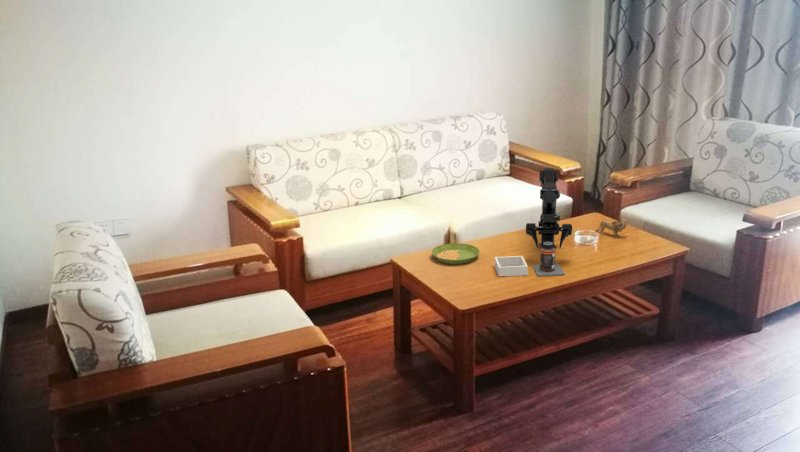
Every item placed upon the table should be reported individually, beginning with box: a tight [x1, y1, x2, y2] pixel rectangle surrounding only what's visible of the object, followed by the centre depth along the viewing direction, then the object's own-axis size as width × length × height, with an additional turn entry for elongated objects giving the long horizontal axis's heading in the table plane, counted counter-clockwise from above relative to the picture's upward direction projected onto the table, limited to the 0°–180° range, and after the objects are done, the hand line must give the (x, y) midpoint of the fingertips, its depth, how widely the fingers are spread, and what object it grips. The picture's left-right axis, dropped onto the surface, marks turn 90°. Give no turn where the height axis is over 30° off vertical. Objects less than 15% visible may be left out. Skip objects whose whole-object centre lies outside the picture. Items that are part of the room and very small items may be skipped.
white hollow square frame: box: [494, 255, 529, 278], centre depth 273 cm, size 12×12×4 cm
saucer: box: [431, 242, 480, 265], centre depth 290 cm, size 21×21×3 cm
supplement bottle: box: [539, 242, 556, 271], centre depth 270 cm, size 6×6×11 cm
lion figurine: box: [595, 218, 628, 239], centre depth 306 cm, size 15×5×9 cm, turn 50°
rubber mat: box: [531, 263, 566, 277], centre depth 271 cm, size 11×11×1 cm
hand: (548, 248), depth 273 cm, fingers open, 9 cm apart
